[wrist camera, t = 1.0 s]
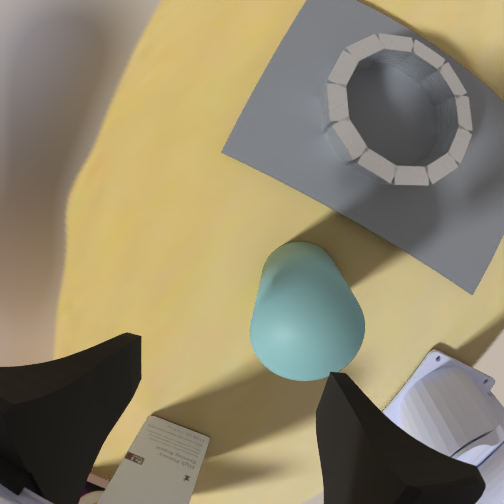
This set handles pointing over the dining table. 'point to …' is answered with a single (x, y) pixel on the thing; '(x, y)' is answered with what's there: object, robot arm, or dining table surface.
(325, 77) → the board
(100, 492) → the greeting card
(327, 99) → the grey segmented ring
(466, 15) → the dining table surface
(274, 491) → the dining table surface
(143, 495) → the skincare box
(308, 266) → the plug
